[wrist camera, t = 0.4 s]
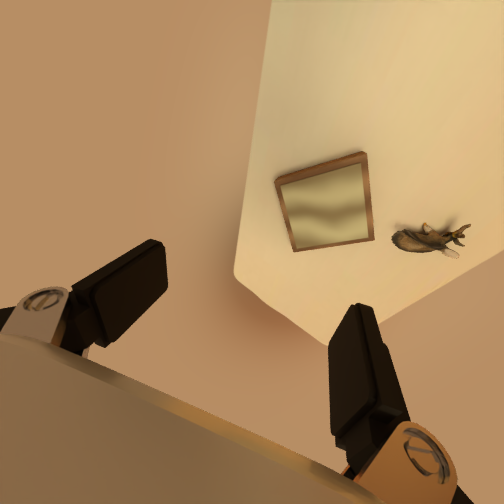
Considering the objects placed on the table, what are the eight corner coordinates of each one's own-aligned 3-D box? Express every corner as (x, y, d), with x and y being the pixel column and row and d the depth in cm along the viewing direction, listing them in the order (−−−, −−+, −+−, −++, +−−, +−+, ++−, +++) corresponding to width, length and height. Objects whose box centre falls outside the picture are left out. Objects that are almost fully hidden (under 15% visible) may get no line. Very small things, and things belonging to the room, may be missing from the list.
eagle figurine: (456, 205, 34) (396, 219, 36) (484, 240, 30) (416, 253, 33) (437, 231, 40) (386, 241, 43) (458, 262, 37) (402, 272, 39)
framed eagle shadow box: (278, 177, 41) (273, 182, 37) (362, 151, 35) (367, 153, 31) (295, 242, 47) (293, 253, 43) (370, 230, 41) (375, 241, 37)
